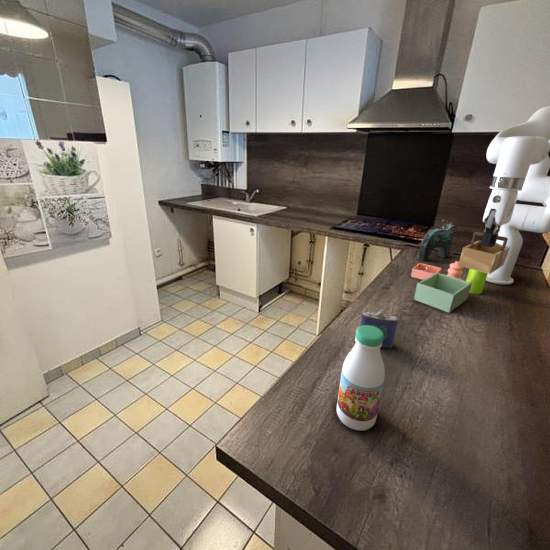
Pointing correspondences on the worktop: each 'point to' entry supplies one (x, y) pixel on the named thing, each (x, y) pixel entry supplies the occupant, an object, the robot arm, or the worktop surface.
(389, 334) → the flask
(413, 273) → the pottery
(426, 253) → the dark green animal figurine
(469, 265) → the wooden basket
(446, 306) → the green basket
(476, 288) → the soap dispenser
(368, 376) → the milk bottle
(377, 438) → the worktop surface
